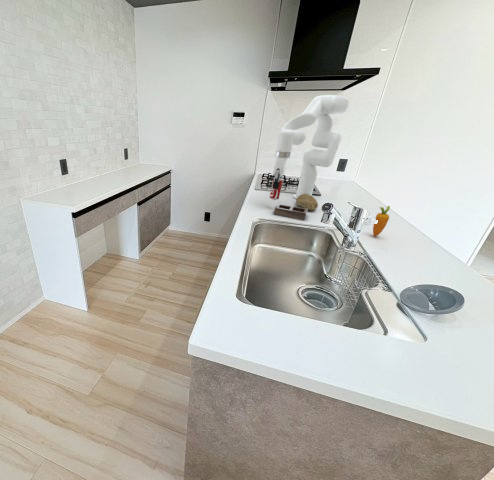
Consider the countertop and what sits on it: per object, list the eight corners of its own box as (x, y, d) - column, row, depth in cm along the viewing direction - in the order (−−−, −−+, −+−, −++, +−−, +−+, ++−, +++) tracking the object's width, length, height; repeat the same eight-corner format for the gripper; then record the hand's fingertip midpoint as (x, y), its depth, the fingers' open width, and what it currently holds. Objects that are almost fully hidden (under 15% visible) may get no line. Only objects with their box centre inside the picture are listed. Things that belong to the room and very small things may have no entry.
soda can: (279, 200, 149) (283, 179, 144) (269, 199, 150) (274, 178, 145) (277, 198, 154) (282, 177, 149) (268, 197, 155) (272, 177, 150)
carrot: (371, 238, 120) (383, 207, 113) (366, 233, 124) (378, 203, 117) (383, 239, 119) (396, 208, 112) (378, 235, 123) (390, 204, 116)
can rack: (276, 210, 152) (278, 203, 151) (306, 215, 145) (308, 208, 143) (273, 214, 145) (274, 207, 144) (304, 220, 138) (306, 213, 136)
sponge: (296, 202, 170) (291, 204, 153) (301, 191, 167) (297, 191, 150) (316, 210, 164) (313, 213, 148) (322, 198, 161) (320, 200, 145)
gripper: (278, 152, 150) (272, 183, 158) (272, 156, 136) (266, 189, 144) (292, 153, 146) (285, 185, 154) (287, 157, 133) (280, 191, 141)
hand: (276, 187), depth 149 cm, fingers closed on soda can, 5 cm apart
